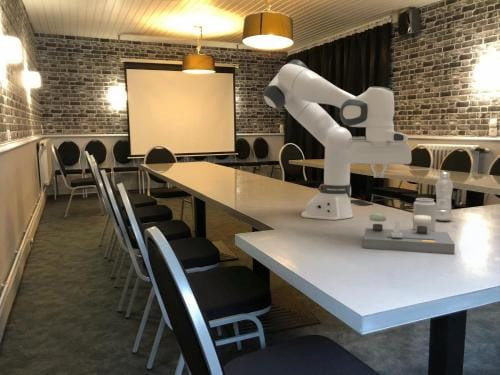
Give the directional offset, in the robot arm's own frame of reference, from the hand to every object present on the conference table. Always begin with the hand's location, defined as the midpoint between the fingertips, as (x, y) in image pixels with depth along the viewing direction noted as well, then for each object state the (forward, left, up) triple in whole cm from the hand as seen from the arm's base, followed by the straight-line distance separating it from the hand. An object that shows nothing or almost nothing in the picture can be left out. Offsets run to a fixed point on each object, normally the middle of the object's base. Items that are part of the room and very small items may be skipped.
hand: (378, 177), depth 139 cm
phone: (-10, +76, -22) cm, 80 cm away
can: (+16, +17, -21) cm, 32 cm away
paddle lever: (+6, -9, -18) cm, 21 cm away
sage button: (0, 0, -14) cm, 14 cm away
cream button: (+14, 0, -14) cm, 20 cm away
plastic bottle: (+25, +38, -21) cm, 50 cm away
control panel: (+9, -5, -21) cm, 23 cm away
